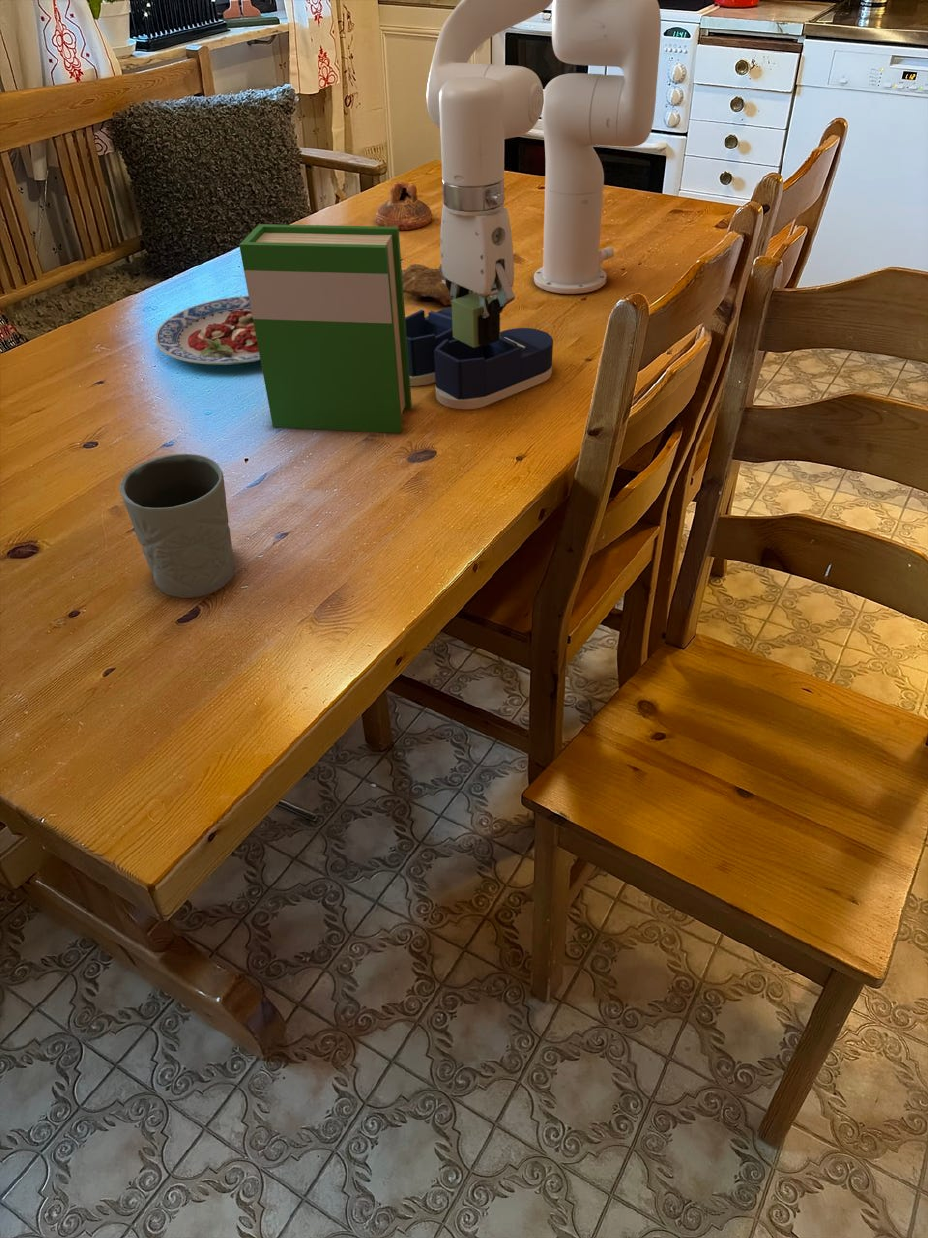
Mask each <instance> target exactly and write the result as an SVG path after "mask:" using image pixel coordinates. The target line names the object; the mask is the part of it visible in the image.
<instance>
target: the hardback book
mask: <svg viewBox="0 0 928 1238" xmlns="http://www.w3.org/2000/svg"><path fill="white" fill-rule="evenodd" d="M238 247H239V252H240V256H241V262H242V267H243V273H244V278H245V284H246V288H247V296H249V301H250V306H251V311H252V317H253V322H254V328H255V333H256V338H257V344H258V349H259V355H260V360H259V361H260V365H261V370H262V376H263V382H264V386H265V392H266V398H267V403H268V408H269V413H270V419H271V425H272V428H283V429H300V430H301V429H302V430H303V429H305V430H320V431H321V430H322V431H323V430H324V431H343V432H363V433H381V434H382V433H385V434H386V433H387V434H402V432H403V420H402V415H403V413H404V411H412V408H413V403H412V390H411V386H410V375H409V362H408V348H407V334H406V321H405V317H406V307H405V297H404V296H405V295H404V292H403V280H402V270H403V267H402V255H401V241H400V230H399V227H383V226H380V225H378V226H377V225H375V226H373V225H371V226H370V225H329V224H328V225H325V224H324V225H322V224H320V225H319V224H272V223H271V224H269V223H268V224H267V223H259V224H257V226H256V227H255V228H253V229H252V231H251V232H250V233H249V234H248V235H247V236H246V237H245V238H244V239H243V240H241V242H240V243H239V244H238Z"/></svg>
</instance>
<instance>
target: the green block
mask: <svg viewBox="0 0 928 1238" xmlns="http://www.w3.org/2000/svg"><path fill="white" fill-rule="evenodd" d="M487 300H488V305H489V303H490V302H491V301H492V296H488V297H487ZM451 301H452V304H451V307H452V327H453V338H455V339H457V340H459V341H461V342H463V343H465V344H467V345H469V346H471V347H473V348H475V347H478V346H481V345H479V336H478V317H479V316H482V315H481V310H480V304H479V298H478V293H476V292H471V294H468V295H465V296H462V297H459V298H456V299H453V300H451ZM500 332H501V313H499V339H500Z"/></svg>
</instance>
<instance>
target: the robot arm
mask: <svg viewBox="0 0 928 1238" xmlns="http://www.w3.org/2000/svg"><path fill="white" fill-rule="evenodd" d="M550 6H551V44H552V50H553V53H554V56H555V57H556V58H557V60H559V61H560V62H562V63H565V64H568V65H569V64H570V65H575V66H587V67H588V66H589V67H590V66H591V67H612V68H613V67H615V68H619V69H620V70H621V71H622V73H623V75H619V74H603V73H587V72H586V73H585V72H573V73H570V72H569V73H564V74H560V75H558V76H556V77H554V78H552V79H551V80H550V81H549V82H548V83H547V84H546V86H545V87H543V84H542V81H541V79H540V78H539V76H538V75H537V73H536V72H534V71H533V70H532V69H530V68H527V67H525V66H522V65H521V66H520V65H509V64H508V65H507V64H494V63H478V62H477V63H476V62H469V60H470V58H472V57H473V54H474V53H475V52H476V50H478V48H479V47H480V46H482V45H483V44H484V43H485V42H486V41H488V40H489V39H490V38H492V37H494V36H496V35H497V34H499V33H501V32H503V31H506V30H508V29H510V28H512V27H514V26H516V25H518V24H521V23H522V22H525V21H527V20H529V19H531V18H533V17H535V16H537V15H539V14H540V13H541V14H542V12H544V11H545V10H547V9H548V8H549V7H550ZM661 16H662V15H661V9H660V4H659V2H658V0H460V1H459V3H458V4H457V5H456V6H455V8H454V9H453V10H452V11H451V13H450V14H449V15H448V17H447V18H446V20H445V21H444V23H443V25H442V27H441V29H440V30H439V33H438V37H437V40H436V44H435V48H434V52H433V56H432V60H431V64H430V69H429V73H428V79H427V86H426V108H427V114H428V115H429V118H430V120H431V122H432V123H433V124H434V126H436V127H437V128H439V129H440V130H439V131H440V153H441V155H440V156H441V157H440V159H441V179H442V180H441V181H442V182H441V183H442V209H441V210H442V211H441V219H440V235H439V236H440V237H439V238H440V240H439V241H440V245H439V248H440V265H439V267H438V269H439V273H440V275H441V276H442V278H443V279H444V281H445V282H446V286H447V288H448V290H449V292H450V301H451V300H453V299H456V298H459V297H462V296H465V295H468V294H471V293H474V292H476V293H478V298H479V304H480V310H481V315H482V316H479V317H478V336H479V345H481V346H485V345H488V344H491V343H493V342H496V341H498V340H499V313H500V314H501V313H503V310H504V309H505V308H506V306H507V305H508V304H510V303H512V302H513V301H515V293H514V291H513V288H512V287H513V286H514V284H515V283H514V281H515V263H514V262H515V261H514V246H513V233H512V226H511V220H510V215H509V211H508V208H506V207H505V154H504V153H505V140H507V139H513V138H518V137H521V136H523V135H525V134H527V133H528V132H530V131H531V130H532V129H534V127H535V126H536V125H537V123H538V121H539V120H540V118H541V124H542V132H543V140H544V152H545V153H544V154H545V155H544V156H545V157H544V159H545V171H544V172H545V174H544V175H545V178H544V179H545V180H544V210H543V211H544V215H543V217H544V218H543V247H542V248H543V250H542V251H543V252H542V254H543V255H542V266H541V267H540V268H538V269H537V270H535V272H534V273H533V283H534V284H535V286H537V287H538V288H540V289H542V290H543V291H546V292H550V293H553V294H561V295H578V294H586V293H590V292H594V291H597V290H600V289H601V288H602V287H604V286H605V285H606V283H607V276H608V275H607V272H606V271H605V270H604V269H602V265H603V263H604V261H607V260H609V259H612V258H614V256H615V250H614V248H613V247H611V246H607V247H605V248H602V249H600V246H601V232H602V231H601V229H602V215H603V214H602V213H603V199H604V185H605V184H604V183H605V172H604V168H603V164H602V161H601V159H600V157H599V155H598V154H597V152H596V150H595V148H594V146H605V147H620V148H622V147H623V148H635V147H638V146H641V145H643V144H645V142H647V140H648V139H649V137H650V135H651V132H652V129H653V124H654V120H655V113H656V112H655V111H656V104H657V103H656V101H657V87H658V76H659V64H660V63H659V62H660V48H661V35H662V17H661ZM488 296H490V297H492V301H491V302H490V303H489V305H488V300H487V297H488ZM451 303H452V301H451Z"/></svg>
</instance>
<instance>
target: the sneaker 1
mask: <svg viewBox="0 0 928 1238" xmlns="http://www.w3.org/2000/svg"><path fill="white" fill-rule="evenodd" d="M425 315H426V314H425V310H424V309H420V310H417V311H415V312H414V313H412V314H410V315H408V316H405V321H406V334H407V348H408V362H409V375H410V387H419V386H426V385H430V384H434V383H436V379H435V361H434V350H435V348H436V347H437V346H438V345H439V344H441V343H442V342H443V341H444V340H445V339H448V340H449V341H451V340H454V339H455V338H453V327H452V306H449V307H446V308H442V309H440V310H438V311H434V310H431V311H428V315H427V316H425Z"/></svg>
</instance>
